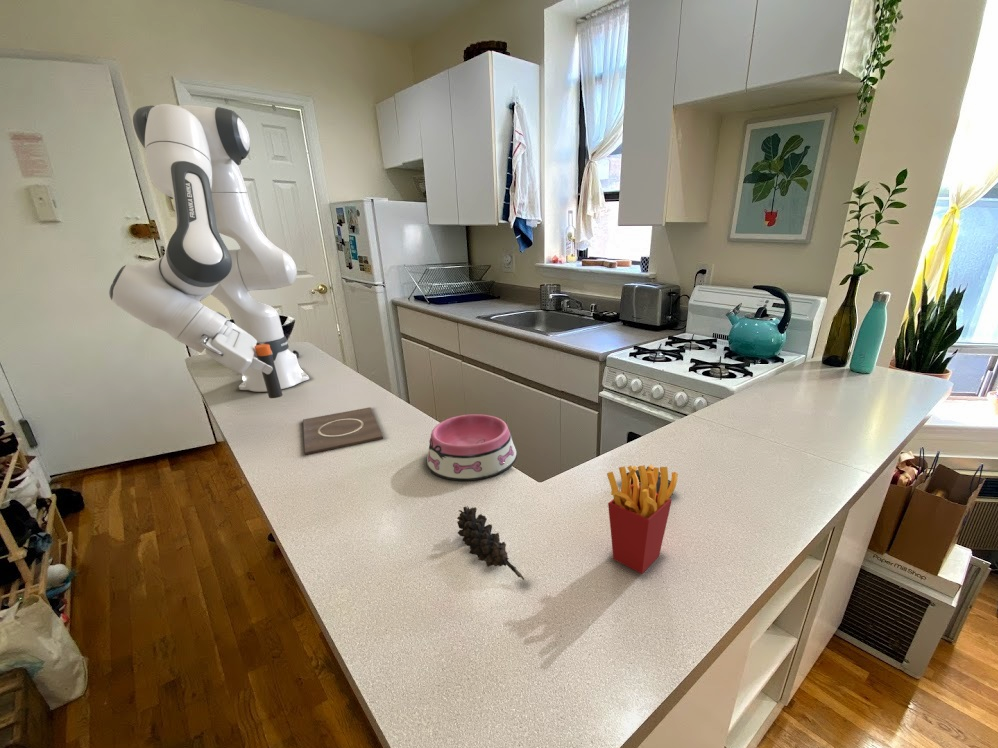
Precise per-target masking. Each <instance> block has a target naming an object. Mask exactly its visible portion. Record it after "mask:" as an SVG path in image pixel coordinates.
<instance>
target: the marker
mask: <svg viewBox="0 0 998 748" xmlns="http://www.w3.org/2000/svg"><path fill="white" fill-rule="evenodd" d="M255 351H256V354H257V357H258V360H260V361H262V362H264V363H267V364H269V365H271V366H272V367H273V370H272V371H271V373H270V374H266V373H264V372H262V375H263V378H264V382H265V385H266V389H267V391H266V392H267V395H268V398H269V399H277V398H281V397H282V396H283V389H281V387H280V383H279V379H278V376H277V372H276V368H275V364H274V361H273V357H272V352H271V349H270V345H269V344H260V345H256V346H255Z"/></svg>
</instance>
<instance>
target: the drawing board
mask: <svg viewBox="0 0 998 748" xmlns="http://www.w3.org/2000/svg"><path fill="white" fill-rule="evenodd" d="M302 427H303V444H304V445H303V446H304V455H305V456H306V455H307V456H308V455H311V454H317V453H321V452H326V451H330V450H331V451H332V450H335V449H341V448H346V447H349V446H354V445H360V444H363V443H369V442H373V441H378V440H382V439H384V435H383V433H382V431H381V429H380V427H379V424H378V422H377V419H376V417H375V414H374V412H373V410H372V407H371V406H370V407H366V408H358V409H354V410H348V411H342V412H336V413H332V414H325V415H322V416H321V415H319V416H315V417H310V418H309V417H308V418H303V419H302Z"/></svg>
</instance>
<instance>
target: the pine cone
mask: <svg viewBox="0 0 998 748" xmlns="http://www.w3.org/2000/svg"><path fill="white" fill-rule="evenodd" d="M462 509H463V511H462V510H461V509H458V512H459V515H458V516H457V517H456V519H457V521H456V523H457V527H458V529H459V530H458V531H457V534H458V535H459V536H460V537H462V542H463V544H464V545H465V546H467V547H469V549H470V550H469V554H470V555H475V556H477V559H478V561H481V562H485V564H486V567H487V568H489V567H492V566H494V567H502V566H504V567H508V568H509V569H510V570H511V571H512V572H513V573H514V574H515V576H517V578H521V579H522V580H523V581H525V577H524V575H522V573H521V572H520V571H519V570H518V569H517V567H516V566H514V564H512V563H511V562H510V561H509V559H510V557H508V555H509V554H508V552H507V551H506V547H507V544H506V541H503V542H500V533H499V532H497V533H492V530H493V524H490V523H489V524H487V525H486V523H487V520H488V518H487V517H486V516H485V515H484V514H482V513H480V514H478V515H477V507H474V506H472V507H469V505H467V506H463V508H462Z"/></svg>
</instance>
